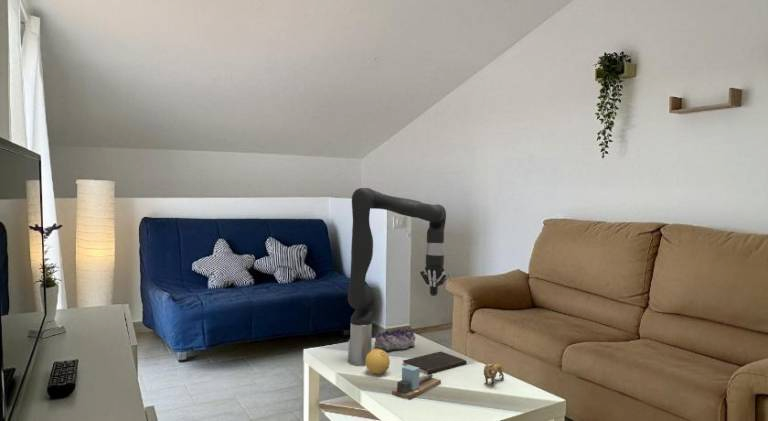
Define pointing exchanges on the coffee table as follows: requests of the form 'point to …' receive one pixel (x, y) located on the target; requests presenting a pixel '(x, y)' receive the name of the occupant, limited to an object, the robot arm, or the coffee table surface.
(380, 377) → the coffee table surface
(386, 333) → the geode
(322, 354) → the coffee table surface
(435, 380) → the rail
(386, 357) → the stress ball
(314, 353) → the coffee table surface
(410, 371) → the pale blue squarish block
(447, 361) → the hardcover book
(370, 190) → the robot arm
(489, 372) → the lion figurine
